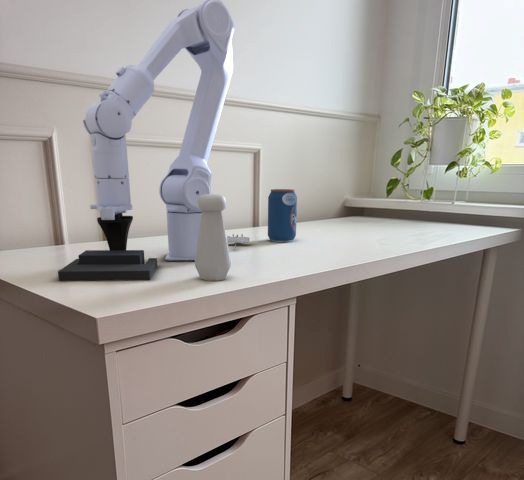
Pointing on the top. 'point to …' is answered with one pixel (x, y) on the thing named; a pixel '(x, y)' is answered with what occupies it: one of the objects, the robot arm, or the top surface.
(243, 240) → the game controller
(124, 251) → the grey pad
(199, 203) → the salt shaker
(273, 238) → the soda can
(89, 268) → the black pad
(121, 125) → the robot arm
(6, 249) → the top surface
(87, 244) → the top surface
